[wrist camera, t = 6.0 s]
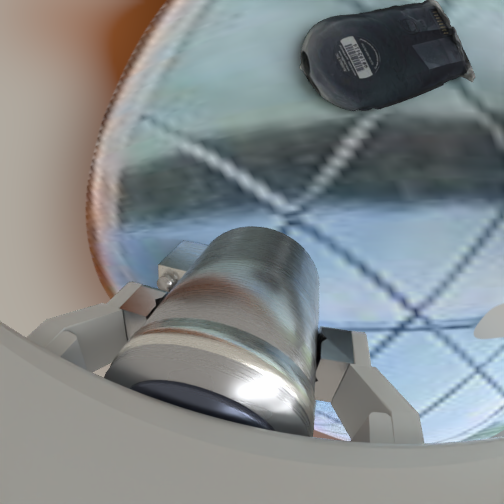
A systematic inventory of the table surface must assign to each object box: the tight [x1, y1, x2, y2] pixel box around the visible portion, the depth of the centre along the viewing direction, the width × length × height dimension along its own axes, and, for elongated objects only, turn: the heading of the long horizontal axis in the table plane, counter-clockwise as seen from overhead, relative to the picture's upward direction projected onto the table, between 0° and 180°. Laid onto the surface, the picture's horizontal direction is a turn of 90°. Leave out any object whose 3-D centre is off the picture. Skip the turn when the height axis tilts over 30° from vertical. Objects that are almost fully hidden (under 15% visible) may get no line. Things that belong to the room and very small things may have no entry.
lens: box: [104, 227, 319, 437], centre depth 9 cm, size 5×5×7 cm
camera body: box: [157, 240, 208, 292], centre depth 30 cm, size 13×10×9 cm
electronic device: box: [299, 0, 475, 111], centre depth 20 cm, size 9×6×15 cm
